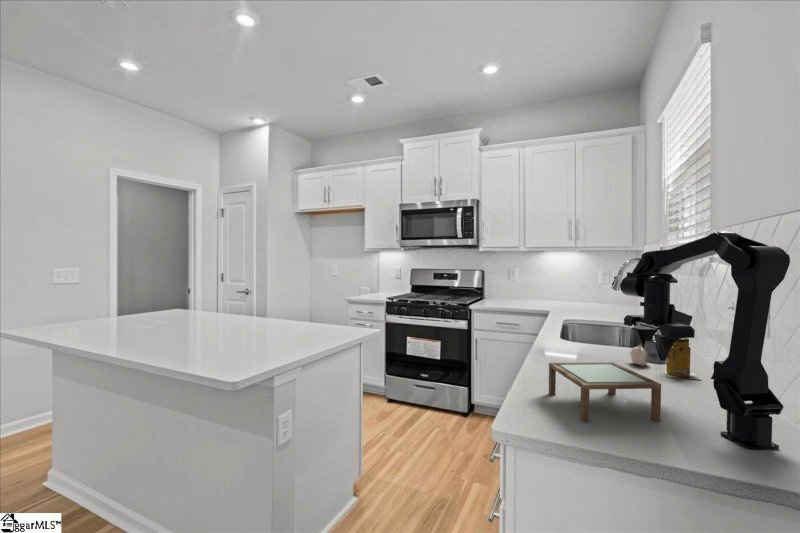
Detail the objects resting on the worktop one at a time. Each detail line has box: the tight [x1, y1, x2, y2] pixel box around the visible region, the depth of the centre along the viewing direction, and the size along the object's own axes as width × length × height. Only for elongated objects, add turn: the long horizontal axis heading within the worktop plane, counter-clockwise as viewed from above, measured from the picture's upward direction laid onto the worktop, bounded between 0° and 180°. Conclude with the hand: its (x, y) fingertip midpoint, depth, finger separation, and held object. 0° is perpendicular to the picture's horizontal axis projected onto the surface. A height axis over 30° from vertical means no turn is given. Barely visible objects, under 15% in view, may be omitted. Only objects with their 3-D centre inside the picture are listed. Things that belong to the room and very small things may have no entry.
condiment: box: [662, 338, 702, 381], centre depth 120 cm, size 7×8×12 cm
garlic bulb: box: [629, 344, 649, 367], centre depth 132 cm, size 7×6×8 cm
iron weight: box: [644, 338, 667, 366], centre depth 101 cm, size 5×5×6 cm
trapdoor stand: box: [548, 361, 662, 423], centre depth 95 cm, size 18×18×8 cm
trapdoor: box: [560, 364, 647, 383], centre depth 95 cm, size 14×14×1 cm
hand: (655, 357), depth 101 cm, fingers closed on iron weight, 5 cm apart
